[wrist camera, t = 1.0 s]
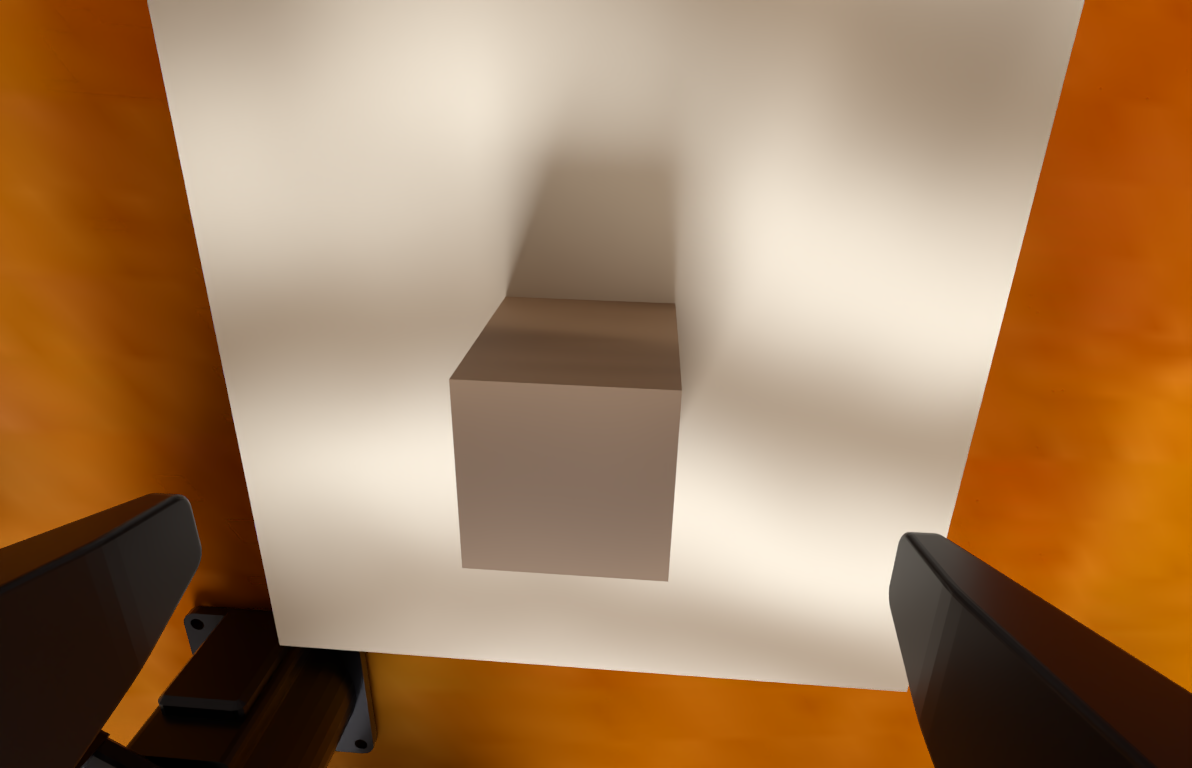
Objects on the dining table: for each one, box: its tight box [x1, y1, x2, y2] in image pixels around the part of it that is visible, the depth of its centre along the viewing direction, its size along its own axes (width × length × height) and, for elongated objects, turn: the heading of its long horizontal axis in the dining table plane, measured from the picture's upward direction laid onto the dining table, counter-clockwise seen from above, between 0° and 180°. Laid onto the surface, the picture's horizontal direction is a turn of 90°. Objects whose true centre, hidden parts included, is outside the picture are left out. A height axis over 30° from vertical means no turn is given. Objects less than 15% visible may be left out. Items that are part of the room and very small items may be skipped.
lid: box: [147, 0, 1084, 692], centre depth 13 cm, size 15×15×6 cm
